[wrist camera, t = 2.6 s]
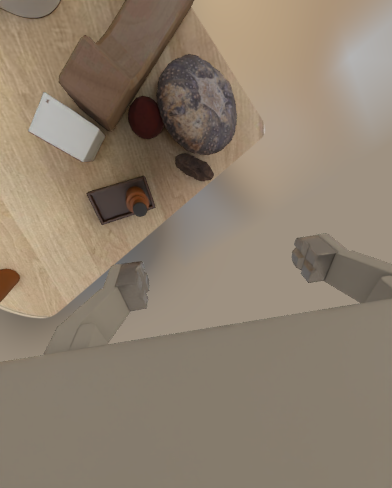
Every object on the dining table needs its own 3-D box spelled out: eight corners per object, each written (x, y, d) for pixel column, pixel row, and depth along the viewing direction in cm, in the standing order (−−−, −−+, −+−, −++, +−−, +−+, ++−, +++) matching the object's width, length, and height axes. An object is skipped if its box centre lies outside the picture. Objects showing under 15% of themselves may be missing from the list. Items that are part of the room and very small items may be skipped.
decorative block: (76, 106, 40) (161, -37, 36) (111, 133, 44) (191, 6, 40) (54, 79, 27) (183, -147, 23) (106, 122, 30) (225, -69, 27)
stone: (178, 148, 50) (171, 167, 51) (180, 147, 47) (172, 167, 49) (215, 167, 53) (207, 185, 55) (218, 167, 51) (210, 186, 52)
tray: (102, 222, 50) (101, 225, 48) (87, 192, 46) (86, 193, 44) (154, 205, 52) (155, 207, 50) (144, 175, 49) (144, 176, 47)
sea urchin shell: (130, 86, 37) (156, 35, 29) (186, 74, 48) (216, 34, 40) (187, 174, 43) (221, 151, 35) (226, 145, 54) (258, 123, 46)
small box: (53, 138, 41) (25, 130, 29) (65, 109, 40) (42, 89, 28) (93, 162, 44) (83, 163, 33) (106, 136, 43) (100, 127, 32)
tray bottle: (121, 195, 48) (120, 209, 34) (135, 182, 48) (140, 191, 34) (135, 208, 51) (140, 227, 37) (148, 196, 50) (158, 210, 37)
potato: (126, 135, 44) (126, 131, 38) (129, 95, 42) (131, 84, 36) (158, 144, 47) (164, 142, 41) (163, 107, 45) (170, 99, 39)
